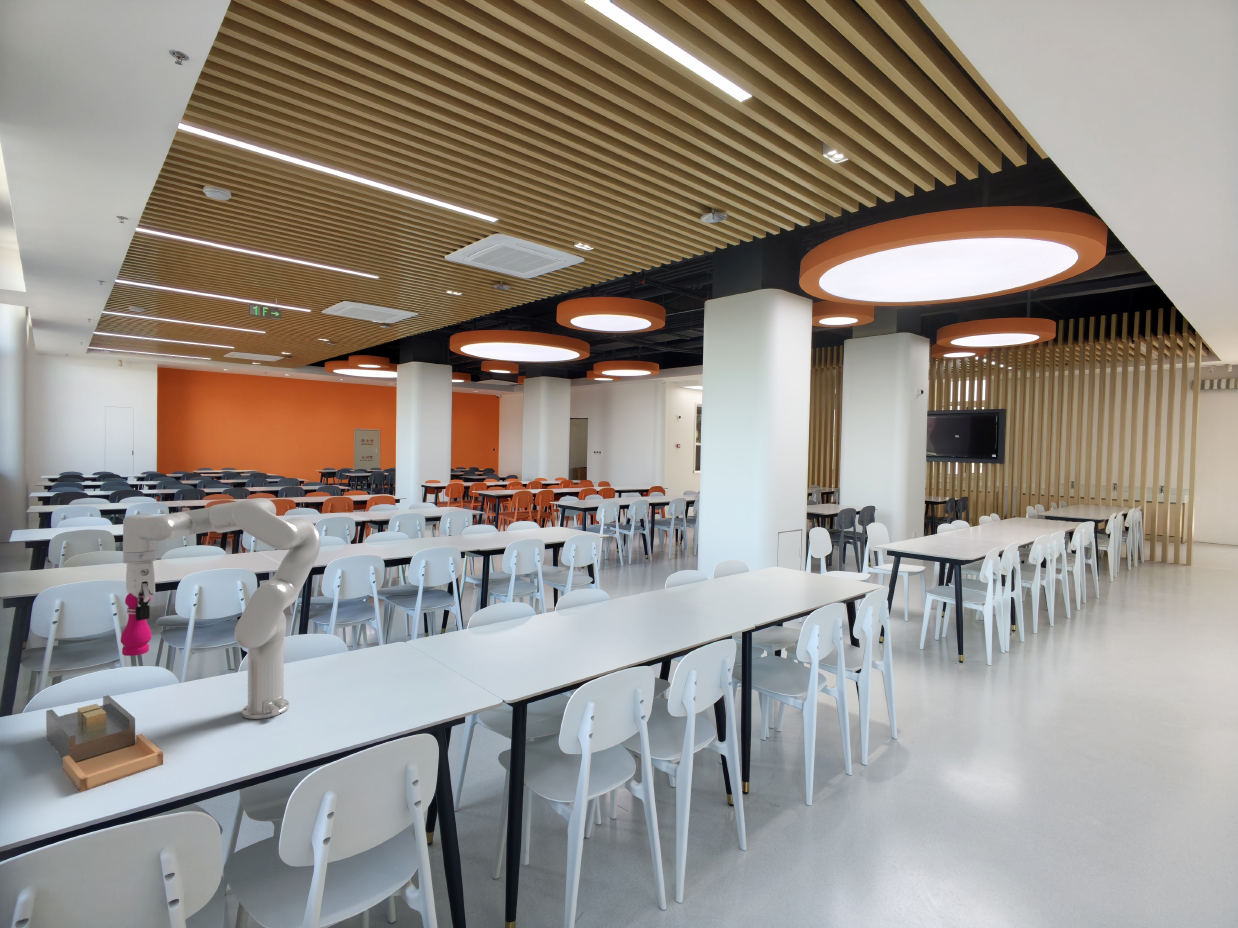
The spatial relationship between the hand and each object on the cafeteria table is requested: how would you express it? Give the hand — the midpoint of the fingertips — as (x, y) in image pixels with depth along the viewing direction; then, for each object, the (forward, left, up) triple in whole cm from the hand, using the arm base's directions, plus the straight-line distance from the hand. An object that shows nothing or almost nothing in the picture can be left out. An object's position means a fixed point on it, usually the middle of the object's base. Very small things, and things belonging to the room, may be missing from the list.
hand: (139, 616), depth 180 cm
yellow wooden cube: (-13, +13, -25) cm, 31 cm away
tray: (-29, +13, -30) cm, 44 cm away
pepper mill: (+1, +1, -11) cm, 11 cm away
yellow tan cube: (-8, +13, -25) cm, 29 cm away
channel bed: (-9, +13, -30) cm, 34 cm away
